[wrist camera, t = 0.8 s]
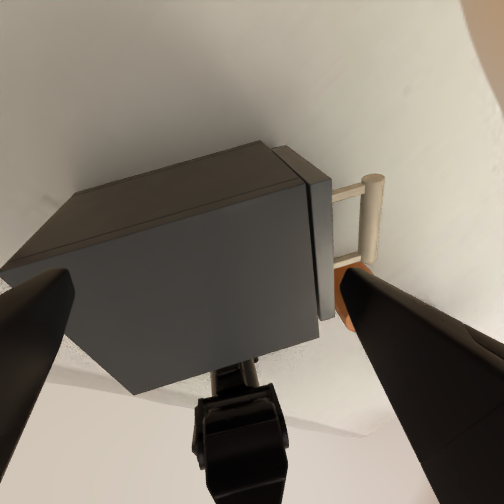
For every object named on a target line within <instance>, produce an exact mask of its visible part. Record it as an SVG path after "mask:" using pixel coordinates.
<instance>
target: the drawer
mask: <svg viewBox="0 0 504 504" xmlns="http://www.w3.org/2000/svg"><path fill="white" fill-rule="evenodd" d="M271 151H272V152H273V153H274V154H275V155H276V156H277V157H278V158H279V159H280V160H281V161H282V162H284V163H285V164H286V165H287V166H288V167H289V168H290V169H291V170H292V171H293V172H294V173H295V174H296V175H297V176H298V177H299V178H300V179H302V180H303V181H304V182H305V184H306V195H307V206H308V217H309V228H310V239H311V250H312V261H313V272H314V283H315V294H316V305H317V315H318V317H319V319H320V321H324V320H327V319H330V318H333V317H335V297H334V269H335V268H339V267H342V266H345V265H349V264H352V263H355V262H359V261H360V262H362V263H366V264H369V263H373V262H374V261H375V260H376V256H377V247H378V238H379V229H380V219H381V210H382V201H383V192H384V183H385V177H384V176H383V175H381V174H369V175H366V176H364V177H363V178H362V180H361V183H357V184H353V185H350V186H347V187H343V188H340V189H336V190H333V191H332V179H331V178H330V177H329V176H327V175H326V174H324V173H323V172H322V171H320V170H319V169H318V168H316V167H315V166H314V165H312V164H311V163H309V162H308V161H307V160H305V159H304V158H303V157H301V156H300V155H299V154H297V153H296V152H295V151H293V150H292V149H290V148H289V147H288V146H286V145H284V146H280V147H277V148H273V149H271ZM360 194H361V200H360V220H359V240H358V252H354V253H351V254H347V255H344V256H341V257H337V258H334V256H333V215H332V203H333V202H337V201H340V200H343V199H347V198H350V197H354V196H357V195H360Z"/></svg>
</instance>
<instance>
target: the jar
mask: <svg viewBox="0 0 504 504" xmlns="http://www.w3.org/2000/svg"><path fill="white" fill-rule="evenodd" d="M350 267H358V268H361V269H363V270H365V271H367V272H368V273H370V274H372V272H371V271H370V270H369V269H368V268H367V267H366V266H365V265H364V264H363V263H362V262H360V261H359V262H355V263H352V264H349V265H345V266H342V267H339V268H335V269H334V297H335V310H336V311H337V313H338V314H339V316H340V318H341V319H342V321H343V323H344V324H345V326H346V327H347V328H348V329H349V330H350V331H353V332H356V331H355V329H354V327H353V325H352V322H351V320H350V317H349V314H348V311H347V309H346V306H345V303H344V301H343V298H342V295H341V293H340V289H339V286H340V282H341V280H342V278H343V276H344V273H345V271H346V269H348V268H350ZM372 275H373V274H372Z"/></svg>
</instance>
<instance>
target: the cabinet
mask: <svg viewBox="0 0 504 504" xmlns="http://www.w3.org/2000/svg"><path fill="white" fill-rule="evenodd" d="M49 268H66V269H68V270H69V272H70V275H71V278H72V282H73V285H74V288H75V299H74V302H73V305H72V309H71V312H70V316H69V319H68V322H67V326H66V329H65V332H64V334H65V335H66V336H67V337H68V338H69V339H71V340H72V341H73V342H74V343H75V344H76V345H77V346H79V347H80V348H81V349H82V350H83V351H84V352H85V353H86V354H88V355H89V356H90V357H91V358H92V359H93V360H94V361H95V362H97V363H98V364H99V365H100V366H101V367H102V368H103V369H104V370H106V371H107V372H108V373H109V374H110V375H111V376H112V377H114V378H115V379H116V380H117V381H118V382H119V383H120V384H121V385H123V386H124V387H125V388H126V389H127V390H128V391H129V392H130V393H132V394H133V395H137V394H140V393H143V392H146V391H150V390H153V389H156V388H159V387H162V386H166V385H169V384H172V383H175V382H178V381H182V380H185V379H188V378H191V377H194V376H198V375H201V374H204V373H207V372H210V371H214V370H217V369H220V368H223V367H227V366H230V365H233V364H236V363H239V362H243V361H246V360H249V359H252V358H255V357H259V356H262V355H265V354H268V353H271V352H275V351H278V350H281V349H284V348H287V347H291V346H294V345H297V344H300V343H303V342H307V341H310V340H313V339H316V338H319V327H318V316H317V305H316V294H315V283H314V272H313V261H312V250H311V239H310V228H309V217H308V206H307V195H306V184H305V182H304V181H303V180H302V179H300V178H299V177H298V176H297V175H296V174H295V173H294V172H293V171H292V170H291V169H290V168H289V167H288V166H287V165H286V164H285V163H284V162H282V161H281V160H280V159H279V158H278V157H277V156H276V155H275V154H274V153H273V152H272V151H271V150H270V149H269V148H268V147H267V146H266V145H264V144H263V143H262V142H261V141H256V142H252V143H249V144H245V145H242V146H238V147H235V148H231V149H228V150H224V151H221V152H217V153H214V154H210V155H207V156H203V157H200V158H196V159H193V160H189V161H186V162H182V163H178V164H175V165H171V166H168V167H164V168H161V169H157V170H154V171H150V172H147V173H143V174H140V175H136V176H133V177H129V178H126V179H122V180H119V181H115V182H112V183H108V184H105V185H101V186H98V187H94V188H90V189H87V190H83V191H80V192H76V193H75V194H74V195H73V196H72V197H70V199H69V200H68V201H67V202H66V203H65V204H64V205H63V206H62V207H61V208H60V209H59V210H58V211H57V212H56V213H55V214H54V215H53V216H52V217H51V218H50V219H49V220H48V221H47V222H46V223H45V224H44V225H43V226H42V227H41V228H40V229H39V230H38V231H37V232H36V233H35V234H34V235H33V236H32V237H31V238H30V239H29V240H28V241H27V242H26V243H25V244H24V245H23V246H22V247H21V248H20V249H19V250H18V251H17V252H16V253H15V254H14V255H13V256H12V257H11V258H10V259H9V260H8V261H7V263H6V264H4V266H3V267H2V268H1V269H0V277H1V278H2V279H3V280H4V281H5V282H6V283H7V284H9V285H10V286H11V287H12V288H14V287H15V286H17V285H19V284H21V283H23V282H25V281H27V280H28V279H30V278H32V277H34V276H36V275H38V274H39V273H41V272H43V271H45V270H47V269H49Z"/></svg>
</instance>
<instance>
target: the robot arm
mask: <svg viewBox="0 0 504 504" xmlns="http://www.w3.org/2000/svg"><path fill="white" fill-rule="evenodd" d="M339 289H340V293H341V295H342V298H343V301H344V303H345V306H346V309H347V311H348V314H349V317H350V320H351V322H352V325H353V327H354V329H355V331H356V333H357V335H358V338H359V340H360V342H361V344H362V346H363V348H364V350H365V352H366V354H367V356H368V358H369V360H370V362H371V364H372V366H373V368H374V370H375V372H376V374H377V376H378V378H379V380H380V382H381V384H382V386H383V389H384V391H385V393H386V395H387V397H388V399H389V401H390V403H391V405H392V407H393V409H394V411H395V413H396V415H397V417H398V419H399V421H400V423H401V425H402V427H403V429H404V431H405V433H406V435H407V437H408V440H409V442H410V443H411V446H412V448H413V450H414V451H415V454H416V455H417V458H418V460H419V462H420V463H421V466H422V468H423V471H424V473H425V475H426V477H427V479H428V481H429V483H430V485H431V487H432V489H433V491H434V493H435V495H436V497H437V499H438V501H439V503H440V504H504V344H503V343H501V342H499V341H497V340H495V339H493V338H491V337H489V336H487V335H485V334H483V333H481V332H479V331H477V330H476V329H474V328H472V327H470V326H468V325H466V324H463V323H462V322H460V321H459V320H457V319H455V318H453V317H451V316H449V315H447V314H445V313H444V312H442V311H440V310H438V309H436V308H434V307H432V306H430V305H429V304H427V303H425V302H423V301H421V300H419V299H417V298H415V297H413V296H412V295H410V294H408V293H406V292H404V291H402V290H400V289H398V288H397V287H395V286H393V285H391V284H389V283H387V282H385V281H383V280H382V279H380V278H378V277H376V276H374V275H372V274H370V273H368V272H367V271H365V270H363V269H361V268H358V267H350V268H348V269H346V271H345V273H344V276H343V278H342V280H341V282H340V286H339ZM74 299H75V288H74V285H73V282H72V278H71V275H70V272H69V270H68V269H66V268H49V269H47V270H45V271H43V272H41V273H39V274H38V275H36V276H34V277H32V278H30V279H28V280H27V281H25V282H23V283H21V284H19V285H17V286H15V287H14V288H12V289H10V290H8V291H6V292H4V293H3V294H1V295H0V483H1V480H2V478H3V476H4V474H5V471H6V469H7V467H8V464H9V462H10V460H11V458H12V455H13V453H14V451H15V449H16V446H17V444H18V441H19V439H20V437H21V435H22V432H23V430H24V428H25V426H26V423H27V421H28V419H29V417H30V414H31V412H32V410H33V407H34V405H35V403H36V401H37V398H38V396H39V394H40V391H41V389H42V387H43V385H44V382H45V380H46V378H47V376H48V373H49V371H50V369H51V366H52V364H53V362H54V360H55V357H56V355H57V353H58V350H59V348H60V345H61V342H62V339H63V336H64V332H65V329H66V326H67V322H68V319H69V316H70V312H71V309H72V305H73V302H74ZM256 362H258V357H255V358H252V359H249V360H246V361H243V362H239V363H236V364H233V365H230V366H227V367H223V368H220V369H217V370H214V371H210V373H211V388H212V397H209V398H204V399H203V398H200V399H198V406H196V407H195V425H194V433H193V441H192V452H193V453H194V454H195V455H196V456H197V460H198V462H199V467H200V470H204V469H205V472H206V485H207V488H208V490H209V492H210V494H211V496H212V497H213V499H214V501H215V503H216V504H281V503H282V497H283V491H284V486H285V481H286V475H287V469H288V460H287V456H286V452H285V449H286V448H288V447H289V440H288V433H287V428H286V424H285V420H284V416H283V413H282V410H281V407H280V404H279V401H278V398H277V395H276V392H275V389H274V386H273V383H270V384H268V385H264V386H259V382H258V377H257V373H256V368H255V364H254V363H256Z"/></svg>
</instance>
